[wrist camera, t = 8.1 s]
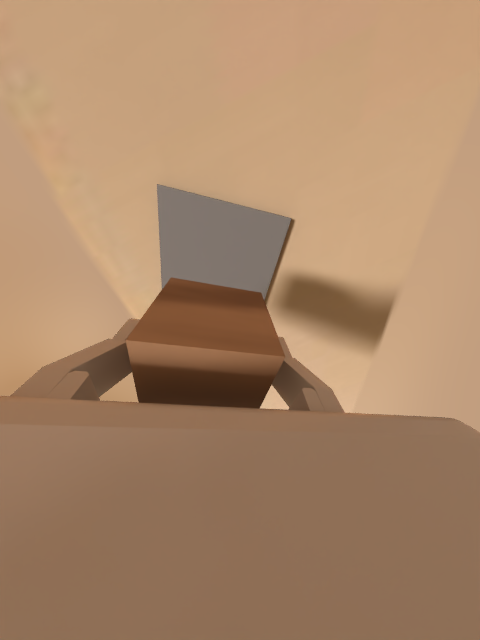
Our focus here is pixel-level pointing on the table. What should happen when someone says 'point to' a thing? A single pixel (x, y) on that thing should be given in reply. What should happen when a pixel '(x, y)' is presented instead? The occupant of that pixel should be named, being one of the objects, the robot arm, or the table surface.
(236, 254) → the slate pad
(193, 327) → the walnut cube
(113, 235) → the table surface
